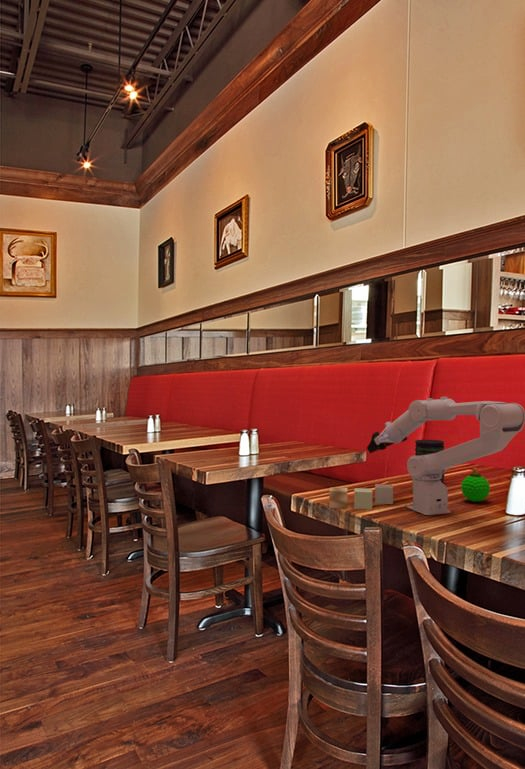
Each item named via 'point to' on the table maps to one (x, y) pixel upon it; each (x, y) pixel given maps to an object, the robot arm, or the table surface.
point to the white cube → (383, 494)
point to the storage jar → (429, 449)
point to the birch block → (338, 498)
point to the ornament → (475, 487)
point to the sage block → (363, 498)
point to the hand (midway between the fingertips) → (377, 446)
